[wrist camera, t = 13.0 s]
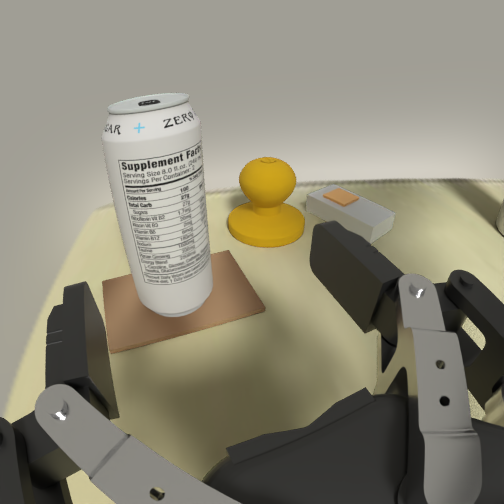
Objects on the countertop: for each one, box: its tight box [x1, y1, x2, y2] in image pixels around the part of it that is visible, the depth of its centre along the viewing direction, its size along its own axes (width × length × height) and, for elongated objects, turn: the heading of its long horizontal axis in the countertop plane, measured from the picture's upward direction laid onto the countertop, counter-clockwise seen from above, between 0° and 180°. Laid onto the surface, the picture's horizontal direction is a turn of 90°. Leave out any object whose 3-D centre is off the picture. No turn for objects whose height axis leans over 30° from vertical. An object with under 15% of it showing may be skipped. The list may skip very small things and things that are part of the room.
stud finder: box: [306, 184, 396, 244], centre depth 35 cm, size 9×5×3 cm, turn 40°
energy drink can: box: [102, 93, 213, 317], centre depth 21 cm, size 6×6×15 cm
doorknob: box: [228, 157, 305, 247], centre depth 33 cm, size 8×8×8 cm
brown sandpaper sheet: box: [102, 250, 265, 354], centre depth 26 cm, size 12×8×1 cm, turn 113°
